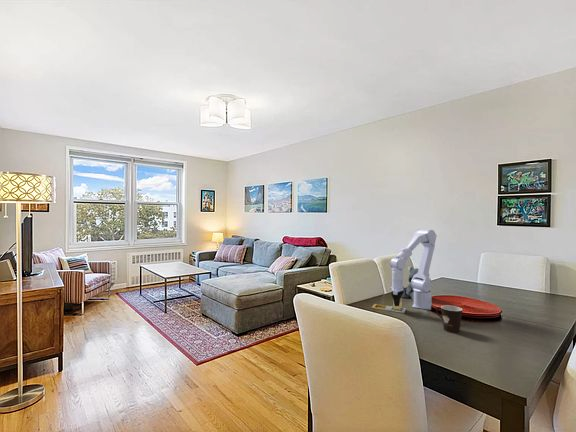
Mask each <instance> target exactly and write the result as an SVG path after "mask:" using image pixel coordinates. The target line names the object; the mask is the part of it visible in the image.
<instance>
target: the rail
mask: <svg viewBox="0 0 576 432" xmlns="http://www.w3.org/2000/svg"><path fill="white" fill-rule="evenodd" d="M371 309H374V310H380V311H381V310H382V311H388V312H395V313H401V314H405V312H406V311H407V308H406V307H402V310H401V311H399V310H393V305H384V304H377V303H374V304H373V305H372V306H371Z"/></svg>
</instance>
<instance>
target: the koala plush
mask: <svg viewBox="0 0 576 432" xmlns="http://www.w3.org/2000/svg"><path fill="white" fill-rule="evenodd" d="M418 269H419V268H418V267H417V268H416V267H415V268H414V267H412V266H410V265H409V266H408V267H407V270H408V282H409V284H408V285H407V287H406V288H405V287H404V286H403V291H404V292H403V295H402V299H404V298H405V299H411V300H412V302H414V290H413V288H412V287H411V280H412V279H413V276H414V275H415V274H417V273H418ZM428 277H429V278H430V272H429V273H428ZM421 280H423V279H421ZM429 292H431V289H430V290H429Z"/></svg>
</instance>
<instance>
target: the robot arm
mask: <svg viewBox="0 0 576 432" xmlns="http://www.w3.org/2000/svg"><path fill="white" fill-rule="evenodd" d="M437 237H438V236H437V234H436V232H435V231H434V230H433V229H421V228H417V229H416V231H414V233H413V237H412V239H411V240H410V241H409V243H408V245H407V246H406V247H403V248H401V249H400V252H398V254H397V255H396V256H395V257H393V258H392V259H390V261H389V267H390V268H391V286H390V287H389V290H391V292H390V295H391V297H392V301H393V300H394V305H395V306H399V304H400V298H401V296H402V295H403V292H404V291H403V287H404V269H405V268H406V266H407V265H406V264H407V261H408V260H409V259H410V258H411V256H412V255H413V251H414V249H416V247H418V245H419V244H421V245H422V246H423V250H422V253H421V256H420V262H419V266H418V268H417V269H418V273H417V274H415V275H414V276H413V279H412V280H411V287H412V288H413V290H414V301H413V303H412V308H415V309H422V310H427V311H428V310H430V311H431V310H432V307H431V306H433V302H432V299H433V298H432V297H433V296H432V292H431V288H432V283H431V282H432V279H431V278H430V276H429V277H428V273H429V274H430V268H431V264H432V261H433V255H434V253H435V252H434V251H435V246H436V241H437ZM421 279H423V280H421ZM429 290H430V292H429Z"/></svg>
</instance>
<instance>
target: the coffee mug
mask: <svg viewBox="0 0 576 432" xmlns="http://www.w3.org/2000/svg"><path fill="white" fill-rule="evenodd" d="M439 309H440V311H441V314H439V311H438V310H439ZM435 311H436V314H437V316H439V318H440V319H441V321H442V325H443V327H442V328H443V331H445V332H447V333H453V334H458V333H460V332H461V325H462V323H461V322H462V316H463V308H462V307H459V306H456V305H448V304H446V305H441V306H437V307H436V309H435Z"/></svg>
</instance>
